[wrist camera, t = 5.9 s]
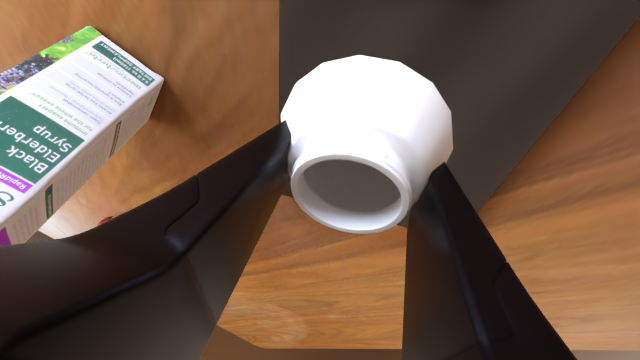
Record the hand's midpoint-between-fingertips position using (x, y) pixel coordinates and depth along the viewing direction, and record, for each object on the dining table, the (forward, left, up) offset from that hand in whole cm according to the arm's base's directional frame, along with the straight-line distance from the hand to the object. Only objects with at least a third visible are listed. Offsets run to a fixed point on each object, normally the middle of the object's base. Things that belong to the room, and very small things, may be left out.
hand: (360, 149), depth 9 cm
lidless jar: (0, 0, -1) cm, 1 cm away
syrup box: (+19, +8, -11) cm, 23 cm away
